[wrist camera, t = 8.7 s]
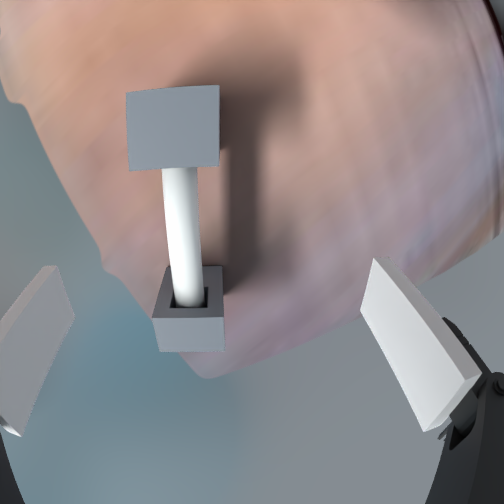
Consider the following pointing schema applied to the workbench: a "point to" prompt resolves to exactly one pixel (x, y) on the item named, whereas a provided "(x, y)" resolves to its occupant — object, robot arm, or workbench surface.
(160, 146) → the sleeve
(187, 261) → the tube
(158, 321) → the socket block
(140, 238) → the workbench surface
